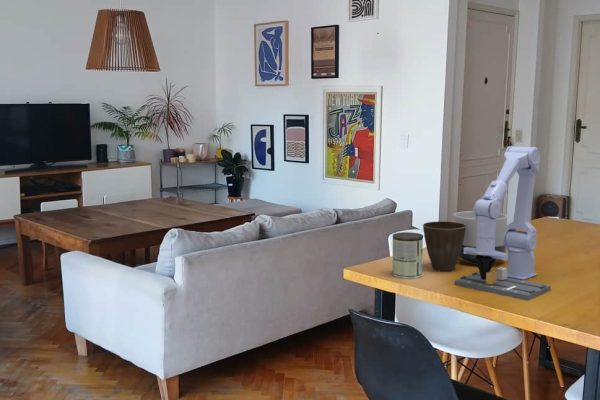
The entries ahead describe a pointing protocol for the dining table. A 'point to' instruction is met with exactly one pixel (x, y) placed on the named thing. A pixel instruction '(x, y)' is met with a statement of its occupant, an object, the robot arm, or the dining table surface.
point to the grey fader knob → (501, 273)
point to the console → (504, 286)
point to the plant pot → (444, 243)
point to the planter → (471, 232)
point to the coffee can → (407, 255)
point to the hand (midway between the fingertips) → (484, 278)
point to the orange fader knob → (491, 277)
